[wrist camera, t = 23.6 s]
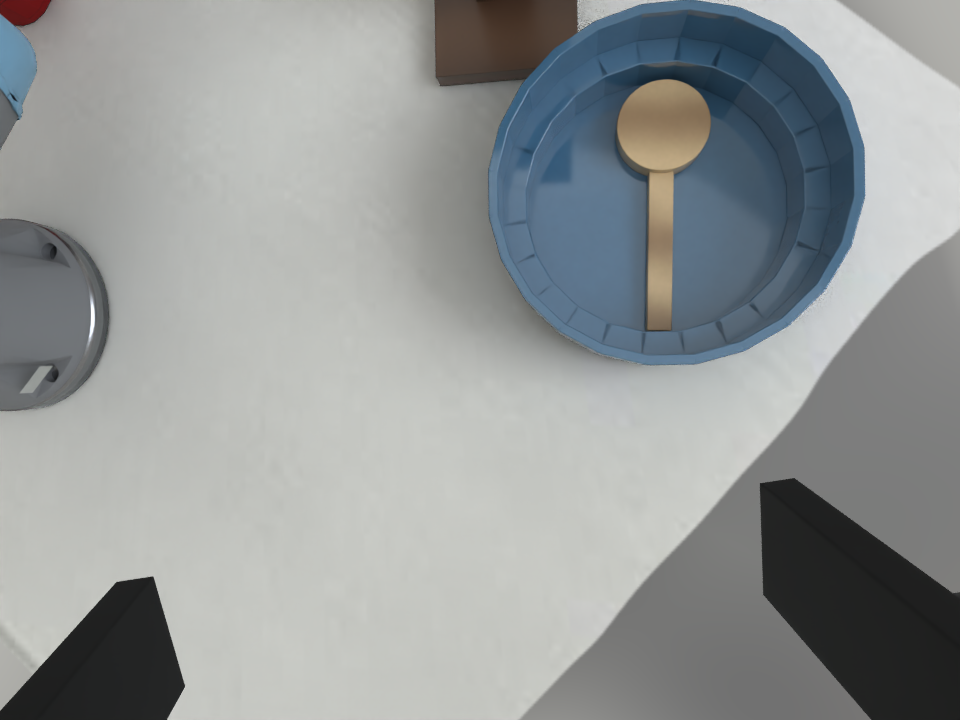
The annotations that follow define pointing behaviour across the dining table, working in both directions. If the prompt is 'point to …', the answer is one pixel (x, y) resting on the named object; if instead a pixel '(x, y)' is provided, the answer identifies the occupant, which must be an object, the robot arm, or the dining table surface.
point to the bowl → (678, 184)
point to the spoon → (661, 172)
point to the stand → (498, 37)
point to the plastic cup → (23, 10)
